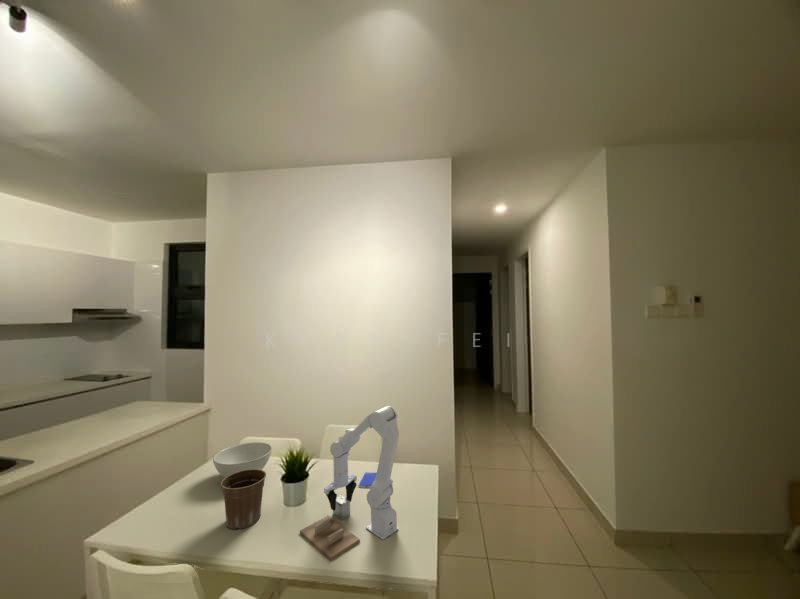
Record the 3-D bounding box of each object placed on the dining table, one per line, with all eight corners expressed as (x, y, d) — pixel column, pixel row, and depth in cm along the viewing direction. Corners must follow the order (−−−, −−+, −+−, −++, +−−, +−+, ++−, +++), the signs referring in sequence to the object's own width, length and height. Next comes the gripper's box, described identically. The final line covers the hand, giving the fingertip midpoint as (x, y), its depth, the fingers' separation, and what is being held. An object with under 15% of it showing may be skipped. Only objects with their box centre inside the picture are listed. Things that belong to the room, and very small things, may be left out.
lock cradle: (359, 541, 114) (359, 531, 115) (330, 560, 106) (330, 549, 106) (328, 518, 128) (327, 509, 129) (300, 533, 120) (299, 523, 120)
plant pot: (248, 503, 140) (248, 465, 141) (275, 513, 132) (274, 473, 133) (211, 525, 126) (211, 482, 126) (238, 538, 118) (238, 492, 119)
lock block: (350, 515, 130) (349, 500, 130) (341, 520, 127) (341, 504, 127) (340, 509, 134) (340, 494, 135) (332, 513, 131) (332, 498, 132)
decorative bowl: (199, 485, 157) (200, 459, 158) (245, 461, 182) (245, 439, 182) (240, 495, 147) (240, 468, 147) (283, 469, 171) (283, 445, 172)
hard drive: (365, 472, 164) (358, 484, 151) (381, 472, 162) (375, 485, 150) (365, 475, 164) (358, 488, 151) (381, 476, 162) (375, 489, 150)
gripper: (349, 461, 139) (349, 494, 139) (319, 473, 129) (319, 509, 128) (359, 466, 134) (360, 500, 134) (329, 479, 124) (330, 516, 124)
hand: (341, 505), depth 131 cm, fingers open, 7 cm apart
